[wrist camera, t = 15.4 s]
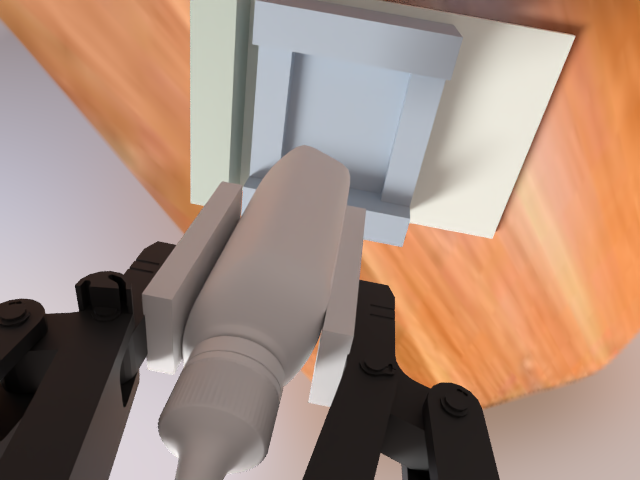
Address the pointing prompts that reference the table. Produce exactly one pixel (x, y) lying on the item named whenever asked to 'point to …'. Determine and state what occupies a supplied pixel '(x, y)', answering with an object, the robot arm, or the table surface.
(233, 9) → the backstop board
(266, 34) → the cradle block
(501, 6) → the table surface
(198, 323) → the eye dropper bottle
